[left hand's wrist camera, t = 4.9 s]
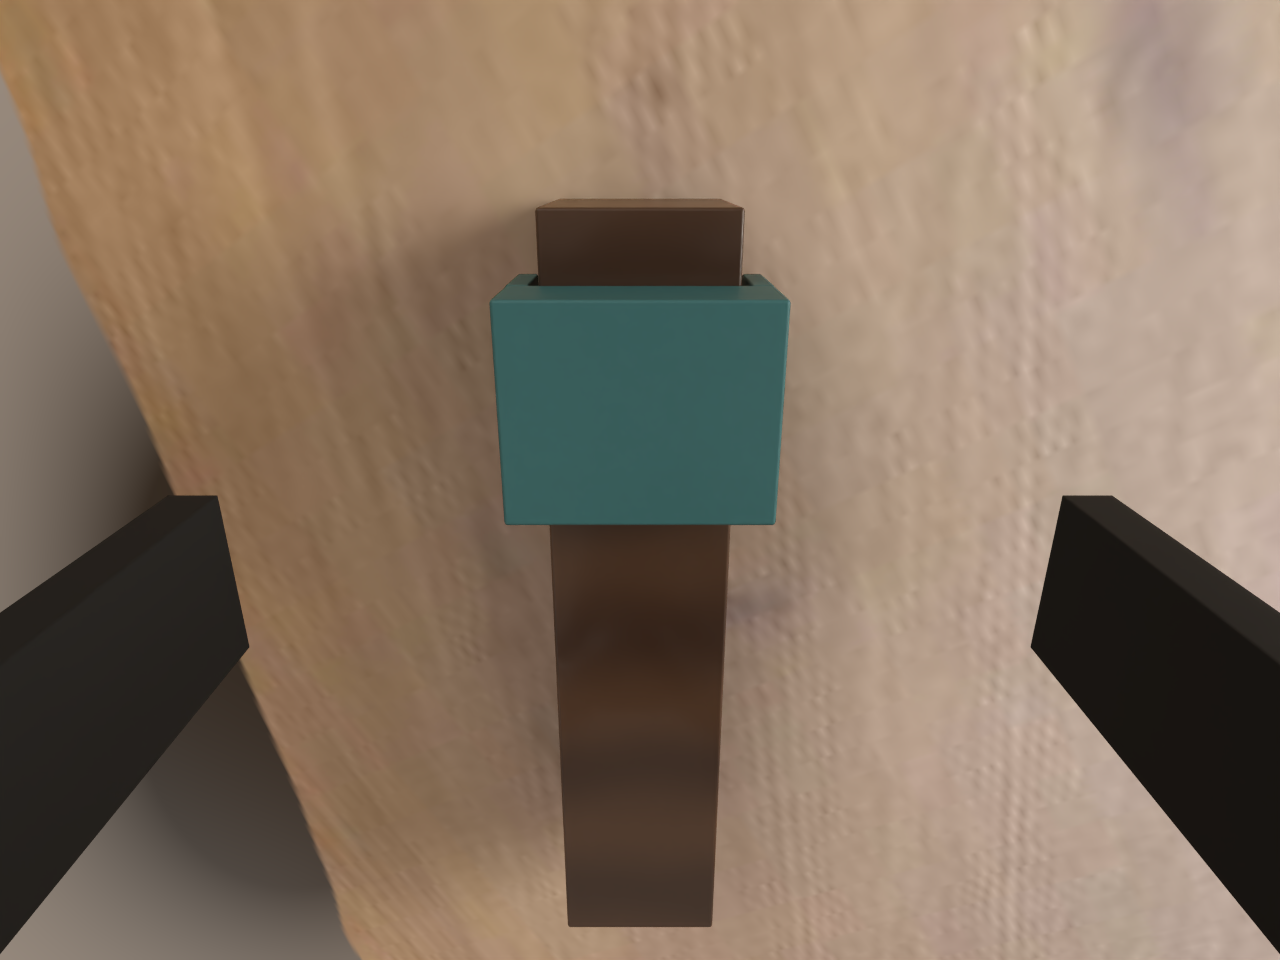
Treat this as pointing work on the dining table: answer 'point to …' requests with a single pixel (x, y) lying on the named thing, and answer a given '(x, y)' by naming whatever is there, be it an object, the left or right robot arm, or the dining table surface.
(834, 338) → the dining table surface
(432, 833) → the dining table surface
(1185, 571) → the left robot arm
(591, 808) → the bar
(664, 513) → the teal u-shaped block
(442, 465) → the dining table surface
